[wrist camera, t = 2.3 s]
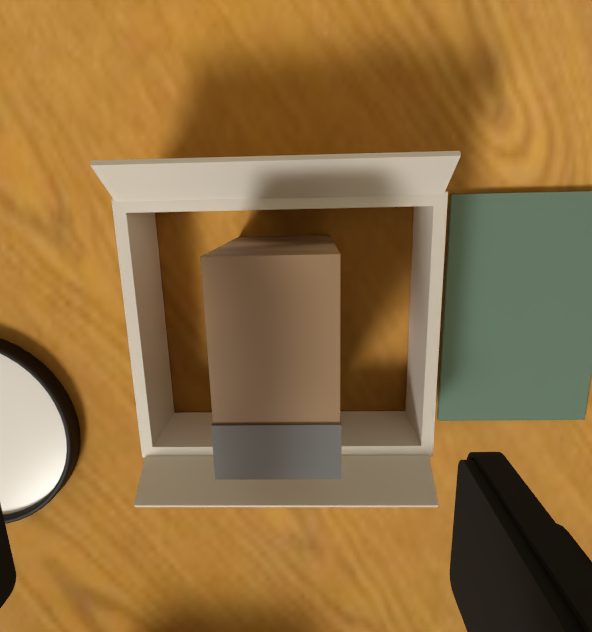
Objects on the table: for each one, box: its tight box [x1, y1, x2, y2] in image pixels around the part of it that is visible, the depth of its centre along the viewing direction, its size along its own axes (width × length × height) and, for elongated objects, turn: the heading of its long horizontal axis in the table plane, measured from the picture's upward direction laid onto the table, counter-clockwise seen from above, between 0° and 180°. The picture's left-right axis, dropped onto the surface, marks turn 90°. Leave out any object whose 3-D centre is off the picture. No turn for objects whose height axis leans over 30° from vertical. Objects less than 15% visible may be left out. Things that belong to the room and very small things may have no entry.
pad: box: [437, 191, 592, 421], centre depth 25 cm, size 8×13×1 cm, turn 1°
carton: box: [90, 151, 461, 507], centre depth 23 cm, size 15×16×6 cm
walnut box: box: [200, 235, 342, 480], centre depth 22 cm, size 5×9×9 cm, turn 1°
